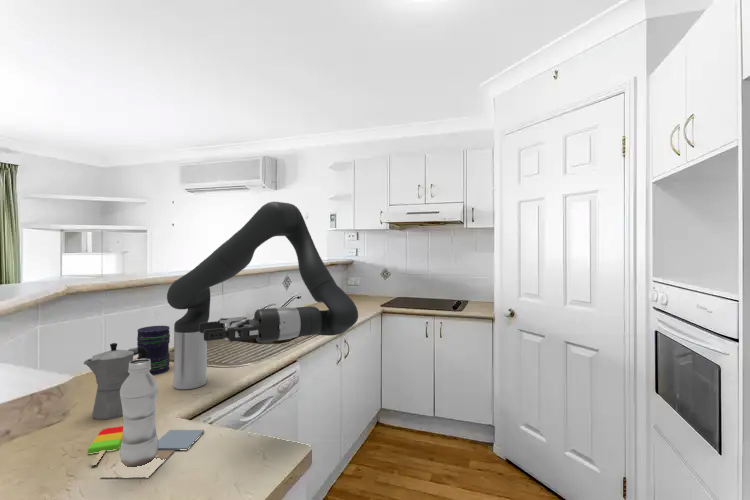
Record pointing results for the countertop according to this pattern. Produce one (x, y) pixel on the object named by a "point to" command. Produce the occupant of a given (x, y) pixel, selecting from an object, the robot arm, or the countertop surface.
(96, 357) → the coffeepot
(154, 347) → the storage jar
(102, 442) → the popsicle
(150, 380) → the plastic bottle
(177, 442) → the slate pad
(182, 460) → the countertop surface
